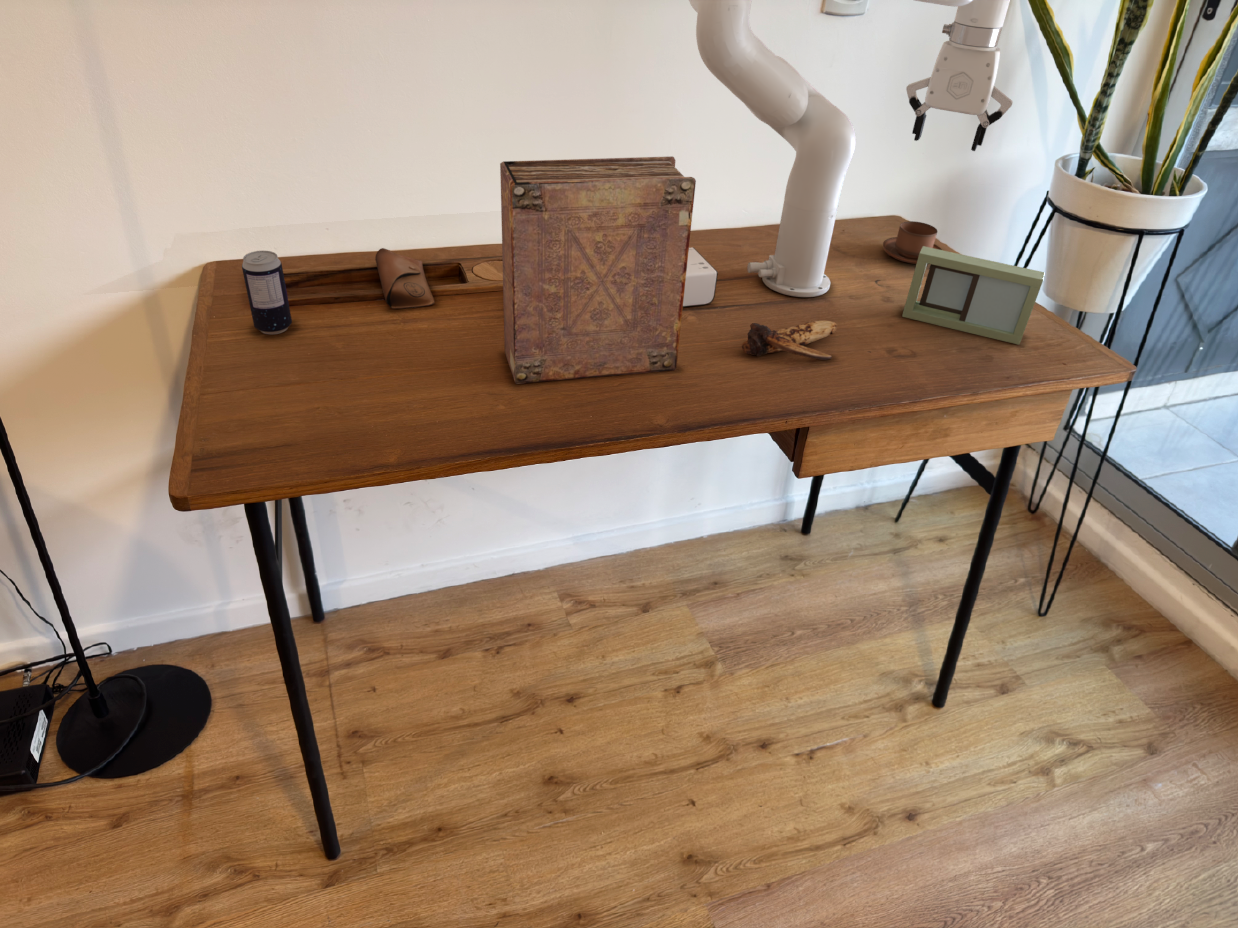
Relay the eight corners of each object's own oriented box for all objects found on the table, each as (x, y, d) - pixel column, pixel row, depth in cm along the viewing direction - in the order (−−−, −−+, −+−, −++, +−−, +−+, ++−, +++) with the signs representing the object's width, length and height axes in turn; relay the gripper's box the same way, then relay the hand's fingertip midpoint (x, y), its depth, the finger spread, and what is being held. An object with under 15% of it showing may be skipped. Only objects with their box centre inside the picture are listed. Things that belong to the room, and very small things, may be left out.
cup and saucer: (878, 242, 185) (885, 214, 181) (936, 249, 184) (944, 220, 180) (883, 265, 175) (891, 236, 171) (945, 272, 174) (954, 243, 170)
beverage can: (300, 325, 141) (288, 254, 134) (275, 340, 137) (261, 267, 130) (272, 317, 143) (259, 246, 136) (246, 331, 139) (231, 259, 131)
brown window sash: (918, 306, 157) (931, 261, 152) (925, 290, 162) (937, 247, 157) (970, 318, 154) (985, 273, 149) (975, 302, 159) (990, 258, 154)
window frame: (901, 316, 157) (919, 253, 150) (905, 308, 160) (922, 246, 152) (1019, 345, 151) (1043, 280, 144) (1020, 336, 153) (1044, 272, 146)
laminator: (526, 324, 146) (526, 289, 142) (509, 292, 155) (509, 259, 152) (713, 304, 156) (718, 272, 152) (687, 275, 165) (690, 244, 162)
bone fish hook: (763, 377, 138) (855, 355, 144) (768, 351, 135) (862, 330, 141) (732, 347, 144) (821, 328, 151) (736, 322, 141) (827, 303, 148)
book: (658, 342, 144) (676, 156, 126) (676, 370, 137) (698, 178, 119) (503, 354, 137) (500, 161, 120) (514, 385, 130) (511, 184, 113)
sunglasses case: (438, 302, 149) (415, 272, 145) (403, 325, 150) (379, 296, 145) (422, 260, 163) (400, 231, 158) (390, 281, 163) (368, 253, 159)
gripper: (917, 32, 143) (891, 140, 153) (1029, 48, 137) (994, 159, 148) (924, 25, 148) (899, 130, 158) (1032, 40, 143) (999, 147, 153)
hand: (945, 144), depth 153 cm, fingers open, 9 cm apart
